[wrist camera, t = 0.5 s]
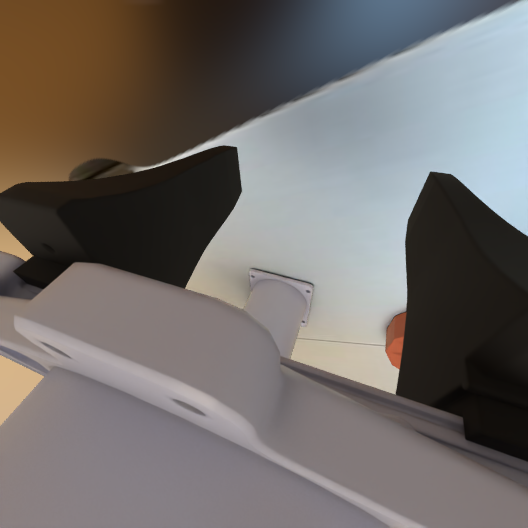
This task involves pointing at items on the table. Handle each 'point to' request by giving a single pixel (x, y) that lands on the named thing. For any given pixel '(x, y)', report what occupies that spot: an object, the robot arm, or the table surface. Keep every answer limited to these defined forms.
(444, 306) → the robot arm
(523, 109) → the table surface
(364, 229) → the table surface
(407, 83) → the table surface
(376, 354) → the table surface
